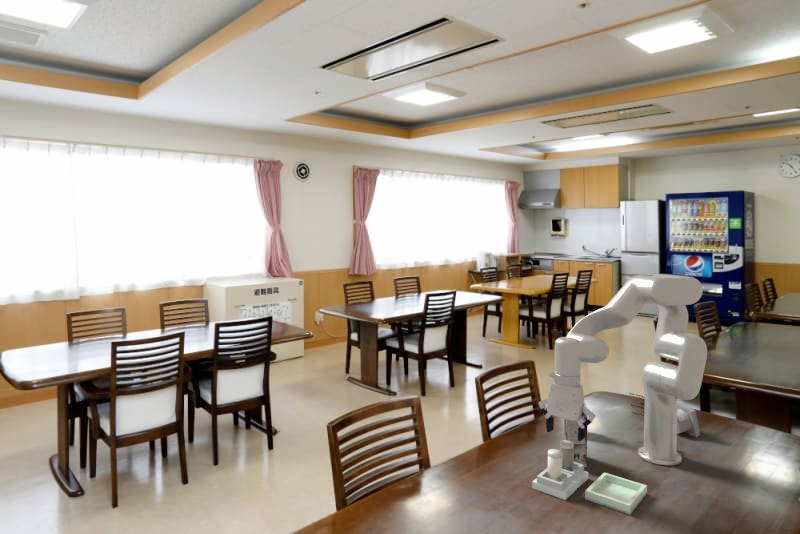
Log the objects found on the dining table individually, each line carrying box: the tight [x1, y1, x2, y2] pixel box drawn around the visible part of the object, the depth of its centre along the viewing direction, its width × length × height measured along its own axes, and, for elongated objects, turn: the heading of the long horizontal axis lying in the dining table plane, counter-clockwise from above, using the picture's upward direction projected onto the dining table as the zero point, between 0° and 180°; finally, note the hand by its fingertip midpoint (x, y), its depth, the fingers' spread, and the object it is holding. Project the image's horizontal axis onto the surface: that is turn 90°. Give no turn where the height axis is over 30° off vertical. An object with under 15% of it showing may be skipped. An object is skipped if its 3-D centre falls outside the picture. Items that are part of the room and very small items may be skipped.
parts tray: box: [584, 472, 648, 516], centre depth 143 cm, size 14×12×2 cm
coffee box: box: [563, 413, 588, 468], centre depth 165 cm, size 9×6×16 cm
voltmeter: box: [630, 393, 701, 438], centre depth 191 cm, size 27×11×10 cm, turn 42°
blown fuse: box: [559, 439, 574, 472], centre depth 153 cm, size 4×4×9 cm
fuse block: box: [531, 448, 589, 501], centre depth 151 cm, size 16×10×11 cm, turn 138°
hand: (565, 435), depth 153 cm, fingers open, 9 cm apart
